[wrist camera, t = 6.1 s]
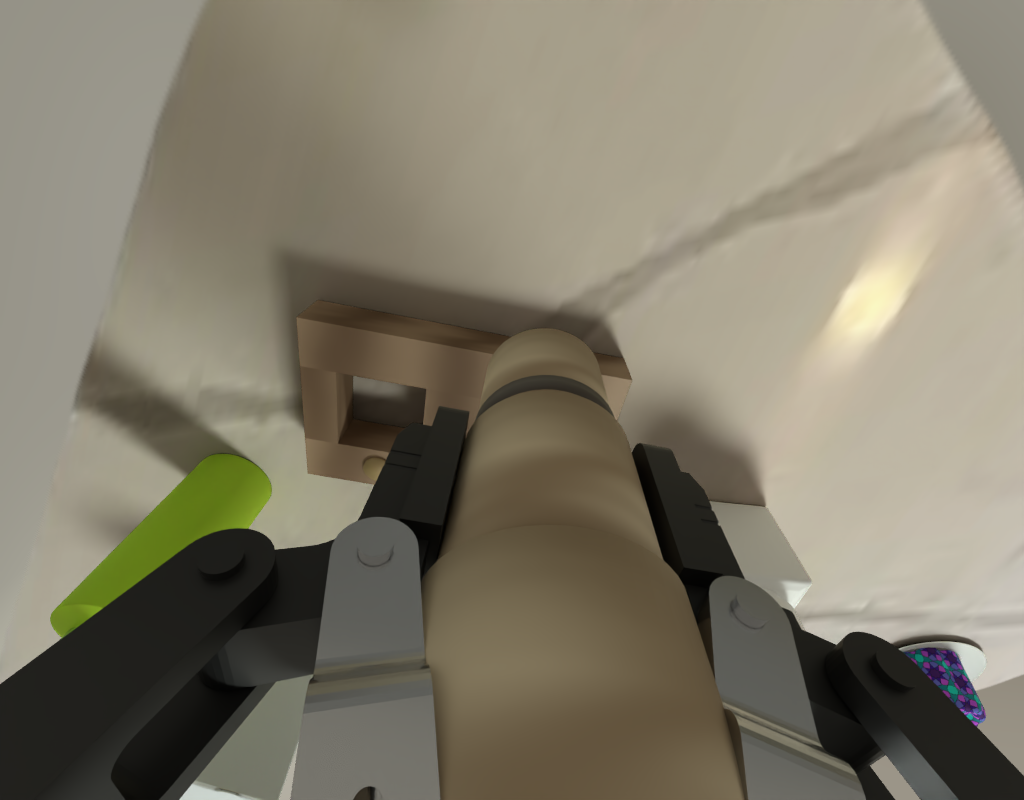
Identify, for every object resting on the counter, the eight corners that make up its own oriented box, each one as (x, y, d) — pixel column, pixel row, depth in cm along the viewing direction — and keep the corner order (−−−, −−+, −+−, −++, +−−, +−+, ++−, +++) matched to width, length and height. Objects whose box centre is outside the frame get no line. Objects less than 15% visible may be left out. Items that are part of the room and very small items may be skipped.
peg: (632, 331, 13) (983, 1066, 3) (591, 447, 15) (702, 1087, 5) (484, 301, 13) (285, 995, 3) (464, 425, 15) (315, 1051, 5)
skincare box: (245, 618, 47) (139, 799, 34) (272, 594, 45) (168, 779, 32) (315, 651, 50) (241, 829, 37) (344, 629, 47) (274, 813, 35)
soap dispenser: (296, 496, 37) (97, 807, 20) (228, 513, 39) (-11, 816, 22) (254, 443, 35) (-17, 751, 18) (183, 462, 36) (-133, 766, 19)
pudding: (834, 658, 47) (866, 714, 42) (965, 619, 43) (1015, 677, 38) (870, 705, 52) (902, 760, 47) (991, 674, 47) (1039, 732, 43)
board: (623, 358, 29) (633, 382, 27) (576, 490, 36) (580, 520, 33) (317, 299, 28) (294, 318, 25) (324, 447, 34) (306, 475, 32)
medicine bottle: (656, 555, 39) (698, 706, 29) (680, 495, 36) (738, 645, 25) (736, 563, 39) (806, 716, 29) (768, 505, 36) (862, 657, 25)
